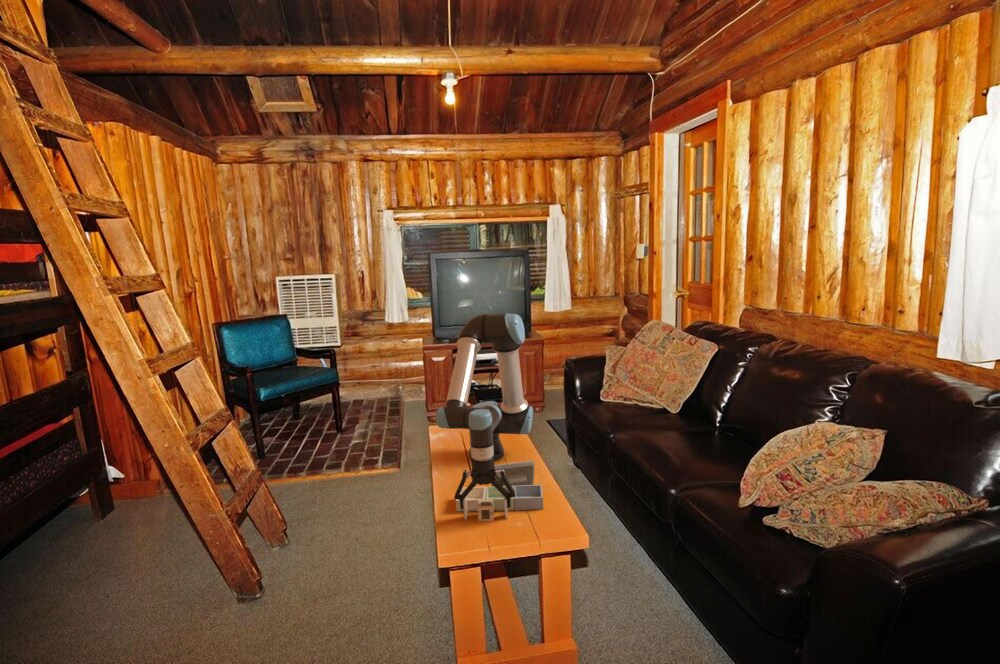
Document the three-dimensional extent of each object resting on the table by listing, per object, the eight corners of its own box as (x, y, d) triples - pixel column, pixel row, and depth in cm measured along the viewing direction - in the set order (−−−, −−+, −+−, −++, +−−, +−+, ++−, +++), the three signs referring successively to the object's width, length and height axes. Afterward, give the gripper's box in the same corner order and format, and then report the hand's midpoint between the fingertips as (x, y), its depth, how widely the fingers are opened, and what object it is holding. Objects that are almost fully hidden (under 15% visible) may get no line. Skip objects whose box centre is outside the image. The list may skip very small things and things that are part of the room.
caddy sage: (487, 497, 191) (486, 486, 190) (514, 496, 190) (513, 485, 190) (485, 511, 181) (484, 499, 180) (514, 510, 181) (513, 498, 180)
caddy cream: (459, 498, 191) (459, 487, 190) (486, 497, 191) (486, 486, 190) (456, 512, 182) (455, 500, 181) (485, 511, 181) (484, 499, 180)
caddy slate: (515, 496, 190) (514, 485, 190) (542, 495, 190) (541, 484, 189) (514, 510, 181) (514, 498, 180) (543, 509, 180) (542, 497, 180)
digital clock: (535, 482, 200) (533, 456, 199) (535, 494, 192) (534, 466, 190) (492, 484, 201) (490, 458, 199) (491, 495, 192) (489, 468, 190)
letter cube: (479, 514, 180) (478, 500, 179) (494, 513, 179) (493, 499, 179) (478, 521, 175) (477, 507, 174) (493, 521, 174) (492, 507, 174)
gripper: (443, 462, 170) (447, 523, 174) (520, 460, 169) (523, 521, 173) (446, 453, 178) (450, 512, 181) (520, 451, 177) (523, 510, 180)
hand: (486, 517), depth 177 cm, fingers open, 13 cm apart
